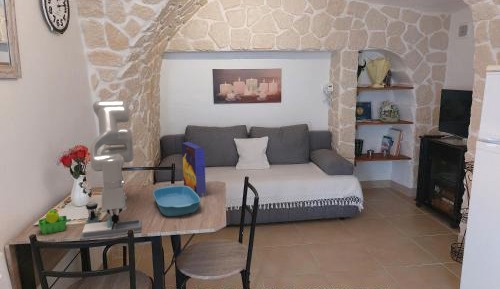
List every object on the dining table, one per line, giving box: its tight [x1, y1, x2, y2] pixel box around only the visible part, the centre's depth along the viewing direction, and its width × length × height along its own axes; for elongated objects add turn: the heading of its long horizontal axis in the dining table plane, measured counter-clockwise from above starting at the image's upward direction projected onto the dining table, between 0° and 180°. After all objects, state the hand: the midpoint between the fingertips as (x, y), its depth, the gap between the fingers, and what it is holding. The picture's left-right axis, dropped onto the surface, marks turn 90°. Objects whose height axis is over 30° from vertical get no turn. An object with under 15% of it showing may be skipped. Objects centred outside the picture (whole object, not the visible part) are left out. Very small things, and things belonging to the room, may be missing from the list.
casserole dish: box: [152, 185, 201, 217], centre depth 192 cm, size 37×22×7 cm, turn 24°
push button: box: [85, 201, 103, 224], centre depth 171 cm, size 7×5×10 cm
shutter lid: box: [81, 215, 113, 234], centre depth 160 cm, size 9×12×4 cm
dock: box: [79, 218, 142, 241], centre depth 162 cm, size 13×26×2 cm, turn 106°
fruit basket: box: [38, 208, 68, 235], centre depth 162 cm, size 11×9×11 cm
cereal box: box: [181, 141, 207, 198], centre depth 214 cm, size 22×6×30 cm, turn 30°
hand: (115, 222), depth 162 cm, fingers closed
